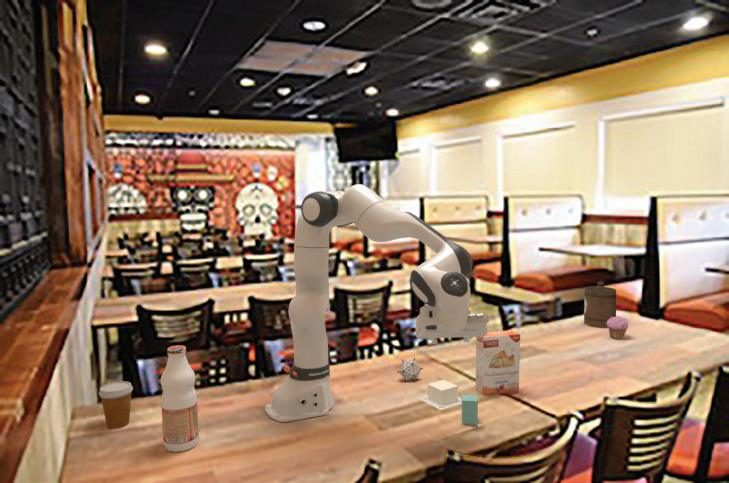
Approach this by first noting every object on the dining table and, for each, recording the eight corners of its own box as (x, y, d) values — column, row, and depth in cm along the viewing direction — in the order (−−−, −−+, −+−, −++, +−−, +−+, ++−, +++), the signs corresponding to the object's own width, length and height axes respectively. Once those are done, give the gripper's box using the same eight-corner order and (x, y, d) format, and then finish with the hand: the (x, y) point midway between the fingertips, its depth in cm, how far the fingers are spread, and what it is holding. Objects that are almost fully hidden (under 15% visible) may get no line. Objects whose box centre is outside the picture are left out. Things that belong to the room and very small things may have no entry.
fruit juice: (174, 456, 146) (168, 355, 143) (157, 445, 153) (152, 348, 150) (205, 444, 153) (200, 347, 150) (188, 434, 160) (183, 340, 157)
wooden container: (592, 319, 286) (593, 277, 284) (621, 324, 275) (622, 281, 272) (578, 324, 276) (579, 281, 274) (607, 329, 265) (608, 285, 263)
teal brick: (477, 427, 161) (477, 401, 160) (462, 426, 162) (462, 400, 161) (476, 420, 165) (476, 395, 165) (461, 420, 166) (461, 394, 165)
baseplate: (440, 412, 172) (440, 409, 172) (417, 400, 182) (417, 397, 182) (468, 403, 178) (468, 400, 178) (444, 392, 188) (444, 389, 188)
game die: (414, 392, 199) (421, 376, 192) (392, 382, 200) (398, 366, 194) (420, 373, 206) (427, 357, 199) (399, 364, 207) (405, 348, 200)
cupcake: (602, 336, 253) (602, 315, 252) (617, 334, 256) (618, 313, 255) (616, 341, 245) (617, 319, 244) (632, 339, 247) (632, 318, 246)
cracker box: (483, 397, 183) (483, 337, 181) (474, 391, 189) (475, 332, 187) (520, 393, 187) (520, 333, 184) (510, 386, 192) (511, 329, 190)
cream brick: (441, 405, 175) (441, 390, 175) (427, 398, 181) (427, 384, 180) (458, 400, 179) (458, 386, 178) (444, 394, 185) (444, 379, 184)
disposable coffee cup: (125, 415, 174) (123, 378, 173) (140, 422, 168) (138, 385, 167) (95, 425, 167) (92, 387, 165) (110, 434, 160) (107, 394, 159)
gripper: (488, 304, 151) (484, 330, 162) (414, 307, 153) (415, 332, 163) (491, 324, 147) (487, 349, 158) (415, 327, 149) (416, 351, 159)
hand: (450, 340), depth 161 cm, fingers open, 8 cm apart
